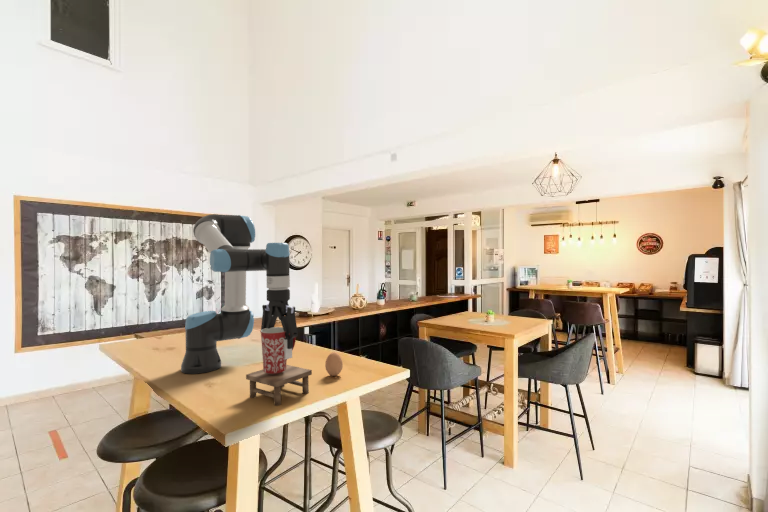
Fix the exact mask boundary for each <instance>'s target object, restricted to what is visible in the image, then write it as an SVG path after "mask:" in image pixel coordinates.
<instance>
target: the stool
mask: <svg viewBox="0 0 768 512" xmlns="http://www.w3.org/2000/svg"><path fill="white" fill-rule="evenodd" d="M312 374H313V373H312V369H309V368H303V367H299V366H295V365H289V364H286V370H285V371H283V372H280V373H274V374H270V373H265V372H264V370H263V369H261V370H257V371H253V372H250V373H248V374H245V378H246V379H245V380H248V381H249V398H250V399H255V398H257V394H260V395H263V396H266V397H269V398H270V397H271V398H272V399H273V405H274V406H280V405H282V400H281V399H282V397H281V396H282V394H281V391H282V389H281V388H284V387H285V385H287V384H290V385H295V386H299V387H302V394H303V395H306V394H309V392H310V391H309V386H310V385H309V376H312ZM301 379H302V381H299V380H301ZM257 383H259V384H262V385H266V386H269V387H270V386H271V387H272V388H273V392H271V391H268V390H265V389H261V388H257Z"/></svg>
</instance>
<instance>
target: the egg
mask: <svg viewBox="0 0 768 512" xmlns="http://www.w3.org/2000/svg"><path fill="white" fill-rule="evenodd" d="M343 362H344V361H343V359H342V357H341V355H340V354H339V353H338V352H336V351H331V352H330V353H329V354H328V355H327V357H326V360H325V370H326V372H327V374H329V376H332V377H336V376H339V375H340V373H341V372H342V370H343Z"/></svg>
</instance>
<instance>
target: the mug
mask: <svg viewBox="0 0 768 512" xmlns="http://www.w3.org/2000/svg"><path fill="white" fill-rule="evenodd" d="M259 332H260V338H261V339H260V340H261V352H262V353H261V355H262V366H263V368H262V370H264V372H265V373H270V374H274V373H280V372H283V371H285V370H286V365H287V361H288V359H284V338H286V336H285V331H284V330H283V327H281V326H274V327H272V328H269V329H268V328H266V329H262V330H261V329H260V331H259ZM293 334H294V333H293ZM289 335H290V334H289ZM296 341H297V337H294V338H293V348H292V351H293V350H294V348H295V346H296Z"/></svg>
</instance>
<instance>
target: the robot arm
mask: <svg viewBox="0 0 768 512" xmlns="http://www.w3.org/2000/svg"><path fill="white" fill-rule="evenodd" d="M193 235H194V238H195V239H196V241H197V242H198V243H200V244H201V245H203V246H204V247H205V248H206V250H207V251H208V252H209V254H210V255H209V266H210V269H211V271H213V272H214V273H224V305H223V306H222V307H221V308H220V313H217V311H215V310H207V311H199V312H196V313H193V314H190V315H188V316H187V317H186V318H185V323H184V325H185V327H184V329H185V353H184V357H183V359H182V362H181V365H180V369H181V370H180V372H181V373H183V374H188V375H189V374H190V375H194V374H204V373H209V372H210V373H211V372H213V371H216V370H219V369H220V368H221V367H222V360H221V357H220V355H219V352H218V348H217V342H223V341H228V340H231V341H232V340H236V339H237V340H239V339H240V340H241V339H242V338H243V339H244V338H247V337H249V336H250V335H251V334H252V333H253V329H254V324H255V318H254V312H253V311H252V310H250V307H249V306H248V305H247V297H246V296H247V272H257V271H258V272H259V271H260V272H262V271H263V272H264V271H265V272H266V273H265V274H266V275H265V276H266V288H267V290H266V301H268V304H263V305H262V318H261V324H260V325H261V326H260V327H261V328H260V331H261V330H262V329H266V328H268V329H269V328H272V327H276V326H275V325H276V323H277V322H276V321H277V320H279V321H280V323H281V326H282V327H283V330H284V331H285V336H286V338H284V359H287V360H288V359H293V350H292V348H293V338H294V337H296V338H297V337H298V336H299V333H298V332H299V331H298V326H297V320H296V319H297V318H296V307H295V306H291V305H289V301H290V299H291V290H290V289H289V288H290V287H291V279H290V278H291V277H290V256H291V253H290V246H289V244H288V243H287V242H267V243H266V246H265V248H264V249H263V248H260V249H259V248H258V249H254V248H253V249H250V247H251V244H253V243H254V242H255V239H256V228H255V224H254V222H253V220H252V218H251V217H250V216H248V215H247V216H246V215H241V214H238V215H237V214H236V215H235V214H234V215H233V214H217V213H216V214H215V213H213V214H211V213H210V214H207V215H205V216H203V217H200V218H199V219H198V220H197V221H196V222H195V224H194V226H193ZM293 333H294V334H293ZM289 334H290V335H289ZM293 349H294V348H293Z"/></svg>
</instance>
